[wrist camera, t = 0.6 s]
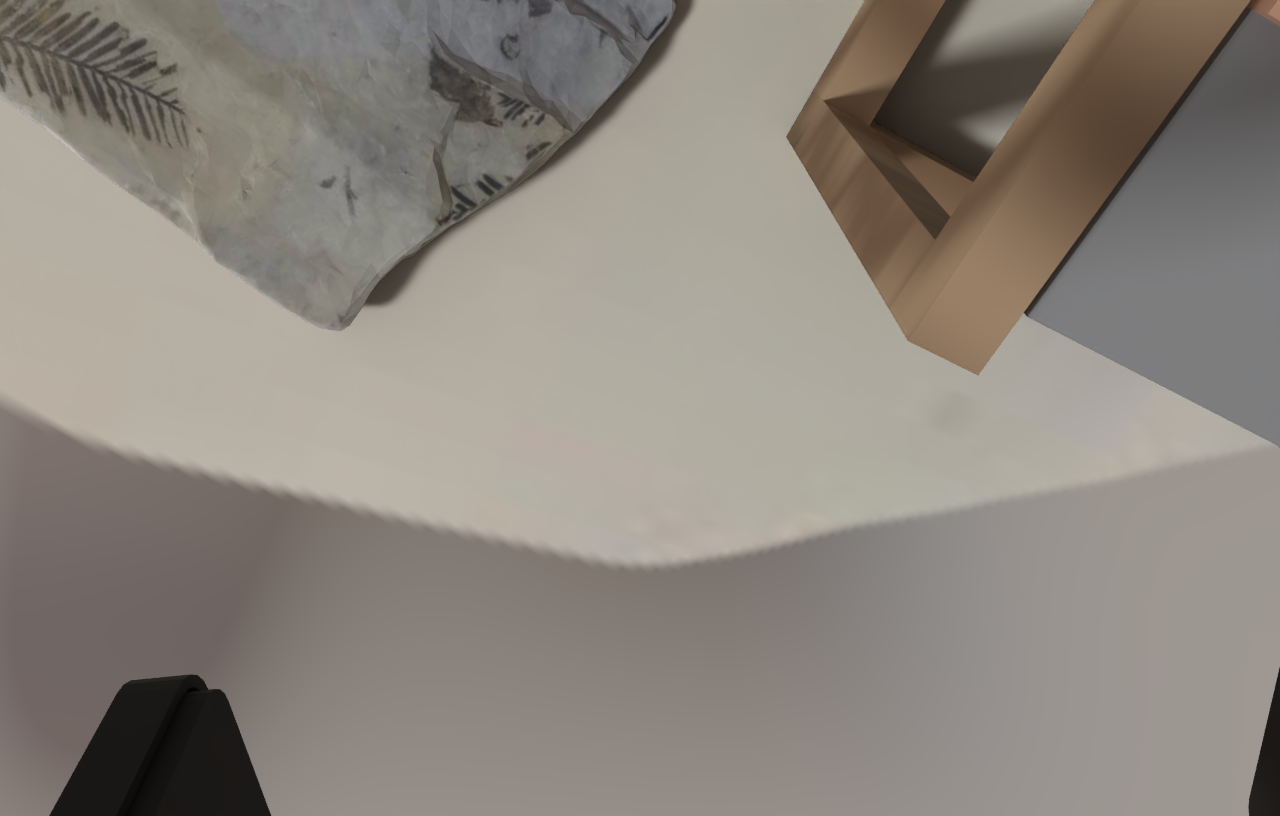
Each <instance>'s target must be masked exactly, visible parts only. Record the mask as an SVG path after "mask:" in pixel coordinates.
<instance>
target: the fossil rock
mask: <svg viewBox="0 0 1280 816" xmlns="http://www.w3.org/2000/svg"><path fill="white" fill-rule="evenodd" d="M675 9H676V4H675V2H674V0H0V98H1V99H2V100H4V101H6V102H7V103H9V104H10V105H12V106H13V107H14V108H16V109H17V110H19V111H20V112H22V113H23V114H25V115H26V116H27V117H29V118H30V119H32V120H33V121H35V122H36V123H38V124H39V125H40V126H42V127H43V128H44V129H45V130H47V131H48V132H49V133H50V134H52V135H53V136H54V137H55V138H57V139H58V140H59V141H60V142H62V143H63V144H64V145H65V146H66V147H68V148H69V149H70V150H71V151H73V152H74V153H75V154H76V155H78V156H79V157H80V158H82V159H83V160H84V161H86V162H87V163H88V164H89V165H91V166H92V167H93V168H95V169H96V170H97V171H99V172H100V173H101V174H103V175H104V176H105V177H107V178H108V179H109V180H111V181H112V182H113V183H115V184H116V185H118V186H119V187H121V188H122V189H123V190H125V191H126V192H128V193H129V194H131V195H132V196H134V197H135V198H137V199H138V200H140V201H141V202H142V203H144V204H145V205H147V206H148V207H150V208H151V209H153V210H154V211H155V212H157V213H158V214H159V215H161V216H162V217H163V218H165V219H166V220H167V221H169V222H170V223H171V224H173V225H174V226H176V227H177V228H179V229H180V230H182V231H183V232H184V233H185V234H186V235H187V236H189V237H190V238H191V239H192V240H193V241H194V242H195V243H197V244H198V245H199V246H200V247H201V248H202V249H203V250H204V251H205V252H207V253H208V254H209V255H210V256H211V257H212V258H213V259H214V260H215V261H216V262H217V263H219V264H220V265H222V266H223V267H225V268H226V269H227V270H229V271H230V272H232V273H233V274H235V275H236V276H237V277H239V278H240V279H242V280H243V281H244V282H246V283H247V284H249V285H250V286H251V287H253V288H254V289H255V290H257V291H258V292H260V293H261V294H263V295H264V296H265V297H267V298H268V299H270V300H271V301H272V302H274V303H275V304H277V305H278V306H280V307H281V308H283V309H284V310H286V311H288V312H290V313H291V314H293V315H295V316H297V317H299V318H300V319H302V320H304V321H306V322H308V323H310V324H312V325H315V326H317V327H320V328H324V329H328V330H337V331H341V330H343V329H345V328H346V327H348V326H349V325H350V324H351V323H352V321H353V320H354V318H355V317H356V316H357V314H358V313H359V311H360V310H361V309H362V307H363V305H364V304H365V302H366V300H367V298H368V297H369V295H370V293H371V292H372V290H373V289H374V287H375V286H376V284H377V283H378V282H379V281H380V280H381V279H382V278H383V277H384V276H385V275H386V274H387V273H388V272H389V271H391V270H392V269H393V268H394V267H395V266H396V265H397V264H398V263H399V262H400V261H401V260H404V259H406V258H409V257H412V256H414V255H415V254H416V253H417V252H418V251H419V250H420V249H421V248H423V247H424V246H425V245H427V244H428V243H429V242H431V241H432V240H433V239H435V238H436V237H437V236H438V235H440V234H441V233H442V232H444V231H445V230H446V229H448V228H449V227H450V226H452V225H453V224H455V223H457V222H459V221H461V220H463V219H465V218H466V217H468V216H469V215H471V214H473V213H474V212H476V211H477V210H479V209H480V208H482V207H484V206H485V205H487V204H489V203H490V202H492V201H494V200H495V199H497V198H499V197H501V196H502V195H504V194H506V193H507V192H509V191H511V190H512V189H514V188H515V187H516V186H518V185H519V184H520V183H522V182H523V181H524V180H525V179H527V178H528V177H529V176H531V175H532V174H533V173H534V172H536V171H537V170H538V169H539V168H540V167H541V166H542V165H544V164H545V163H546V162H547V161H548V160H549V159H550V158H551V156H552V155H553V154H554V153H555V152H556V151H557V150H558V149H559V148H560V147H561V145H562V144H564V143H565V142H566V141H567V140H569V139H570V138H571V137H572V136H573V135H575V134H576V133H577V132H578V131H579V130H580V129H581V128H582V126H583V125H584V124H585V123H586V122H587V121H588V120H589V119H590V118H591V117H592V116H593V114H594V113H595V112H596V111H597V110H598V109H599V108H600V107H601V106H602V105H603V104H604V103H605V102H606V101H607V100H608V99H609V98H610V97H611V95H612V94H613V93H614V92H615V91H616V90H617V89H618V88H619V87H620V86H621V85H622V84H623V83H624V82H625V81H626V80H627V79H628V78H629V77H630V76H631V75H632V74H633V72H634V71H635V70H636V68H637V67H638V65H639V64H640V63H641V61H642V59H643V57H644V56H645V54H646V52H647V50H648V49H649V47H650V45H651V44H652V43H653V42H654V41H655V40H656V39H657V38H658V37H659V36H660V35H661V34H662V33H663V31H664V30H665V29H666V28H667V26H668V25H669V24H670V21H671V19H672V17H673V15H674V13H675Z"/></svg>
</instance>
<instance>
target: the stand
mask: <svg viewBox="0 0 1280 816" xmlns="http://www.w3.org/2000/svg"><path fill="white" fill-rule="evenodd" d="M1250 1H1251V0H1095V1H1094V2H1093V4H1092V5H1091V7H1090V8H1089V10H1088V11H1087V13H1086V14H1085V16H1084V17H1083V19H1082V20H1081V22H1080V23H1079V25H1078V26H1077V28H1076V29H1075V31H1074V32H1073V34H1072V35H1071V37H1070V38H1069V40H1068V41H1067V43H1066V44H1065V46H1064V47H1063V49H1062V50H1061V52H1060V53H1059V55H1058V56H1057V58H1056V59H1055V61H1054V62H1053V64H1052V65H1051V67H1050V68H1049V70H1048V71H1047V73H1046V74H1045V76H1044V77H1043V79H1042V80H1041V82H1040V83H1039V85H1038V86H1037V88H1036V89H1035V91H1034V92H1033V94H1032V95H1031V97H1030V98H1029V100H1028V101H1027V103H1026V104H1025V106H1024V107H1023V109H1022V110H1021V112H1020V113H1019V115H1018V116H1017V118H1016V119H1015V121H1014V122H1013V124H1012V125H1011V127H1010V128H1009V130H1008V131H1007V133H1006V134H1005V136H1004V137H1003V139H1002V140H1001V142H1000V143H999V145H998V146H997V148H996V149H995V151H994V152H993V154H992V155H991V157H990V158H989V160H988V161H987V163H986V164H985V166H984V167H983V169H982V170H981V172H980V173H979V175H978V176H977V178H976V177H974V176H972V175H970V174H968V173H967V172H965V171H963V170H961V169H959V168H957V167H956V166H954V165H952V164H950V163H948V162H946V161H945V160H943V159H941V158H939V157H937V156H935V155H934V154H932V153H930V152H928V151H926V150H924V149H923V148H921V147H919V146H917V145H915V144H913V143H911V142H910V141H908V140H906V139H904V138H902V137H900V136H899V135H897V134H895V133H893V132H891V131H889V130H888V129H886V128H884V127H882V126H880V125H878V124H877V123H875V122H873V119H874V117H875V116H876V114H877V112H878V111H879V109H880V107H881V106H882V104H883V102H884V101H885V99H886V97H887V96H888V94H889V93H890V91H891V89H892V88H893V86H894V84H895V83H896V81H897V79H898V78H899V76H900V74H901V73H902V71H903V70H904V68H905V66H906V65H907V63H908V61H909V60H910V58H911V56H912V55H913V53H914V51H915V50H916V48H917V46H918V45H919V43H920V42H921V40H922V38H923V37H924V35H925V33H926V32H927V30H928V28H929V27H930V25H931V23H932V22H933V20H934V19H935V17H936V15H937V14H938V12H939V10H940V9H941V7H942V5H943V4H944V2H945V0H865V1H864V3H863V5H862V7H861V8H860V10H859V12H858V14H857V15H856V17H855V19H854V20H853V22H852V24H851V26H850V27H849V29H848V31H847V33H846V34H845V36H844V38H843V40H842V41H841V43H840V45H839V46H838V48H837V50H836V52H835V53H834V55H833V57H832V59H831V60H830V62H829V64H828V66H827V67H826V69H825V71H824V72H823V74H822V76H821V78H820V79H819V81H818V83H817V85H816V86H815V88H814V90H813V92H812V93H811V95H810V97H809V99H808V100H807V102H806V104H805V105H804V107H803V109H802V111H801V112H800V114H799V116H798V118H797V119H796V121H795V123H794V125H793V126H792V128H791V130H790V131H789V133H788V135H787V139H788V140H789V142H790V144H791V145H792V147H793V149H794V150H795V152H796V154H797V155H798V157H799V159H800V161H801V162H802V164H803V166H804V167H805V169H806V171H807V172H808V174H809V176H810V177H811V179H812V181H813V182H814V184H815V186H816V187H817V189H818V191H819V192H820V194H821V196H822V197H823V199H824V201H825V202H826V204H827V206H828V208H829V209H830V211H831V213H832V214H833V216H834V218H835V219H836V221H837V223H838V224H839V226H840V228H841V229H842V231H843V233H844V234H845V236H846V238H847V239H848V241H849V243H850V244H851V246H852V248H853V249H854V251H855V253H856V255H857V256H858V258H859V260H860V261H861V263H862V265H863V266H864V268H865V270H866V271H867V273H868V275H869V276H870V278H871V280H872V281H873V283H874V285H875V286H876V288H877V290H878V291H879V293H880V295H881V296H882V298H883V300H884V302H885V303H886V305H887V307H888V308H889V310H890V312H891V313H892V315H893V317H894V318H895V320H896V322H897V323H898V325H899V327H900V328H901V330H902V332H903V333H904V335H905V337H906V338H907V340H908V341H909V342H911V343H913V344H915V345H917V346H920V347H922V348H924V349H926V350H928V351H930V352H932V353H934V354H936V355H938V356H940V357H942V358H944V359H946V360H948V361H950V362H952V363H954V364H956V365H958V366H960V367H962V368H964V369H966V370H968V371H970V372H972V373H974V374H976V375H979V373H980V372H981V371H982V369H983V368H984V366H985V365H986V364H987V362H988V361H989V360H990V358H991V357H992V355H993V354H994V353H995V351H996V350H997V349H998V347H999V346H1000V344H1001V343H1002V342H1003V340H1004V339H1005V338H1006V336H1007V335H1008V333H1009V332H1010V331H1011V329H1012V328H1013V327H1014V325H1015V324H1016V322H1017V321H1018V320H1019V318H1020V317H1021V316H1022V314H1023V313H1024V311H1025V310H1026V309H1027V307H1028V306H1029V305H1030V303H1031V302H1032V300H1033V299H1034V298H1035V296H1036V295H1037V294H1038V292H1039V291H1040V289H1041V288H1042V287H1043V285H1044V284H1045V283H1046V281H1047V280H1048V278H1049V277H1050V276H1051V274H1052V273H1053V272H1054V270H1055V269H1056V267H1057V266H1058V265H1059V263H1060V262H1061V261H1062V259H1063V258H1064V256H1065V255H1066V254H1067V252H1068V251H1069V250H1070V248H1071V247H1072V245H1073V244H1074V243H1075V241H1076V240H1077V239H1078V237H1079V236H1080V234H1081V233H1082V232H1083V230H1084V229H1085V228H1086V226H1087V225H1088V223H1089V222H1090V221H1091V219H1092V218H1093V217H1094V215H1095V214H1096V212H1097V211H1098V210H1099V208H1100V207H1101V206H1102V204H1103V203H1104V201H1105V200H1106V199H1107V197H1108V196H1109V195H1110V193H1111V192H1112V190H1113V189H1114V188H1115V186H1116V185H1117V184H1118V182H1119V181H1120V179H1121V178H1122V177H1123V175H1124V174H1125V173H1126V171H1127V170H1128V168H1129V167H1130V166H1131V164H1132V163H1133V162H1134V160H1135V159H1136V157H1137V156H1138V155H1139V153H1140V152H1141V151H1142V149H1143V148H1144V146H1145V145H1146V144H1147V142H1148V141H1149V140H1150V138H1151V137H1152V135H1153V134H1154V133H1155V131H1156V130H1157V129H1158V127H1159V126H1160V124H1161V123H1162V122H1163V120H1164V119H1165V118H1166V116H1167V115H1168V113H1169V112H1170V111H1171V109H1172V108H1173V107H1174V105H1175V104H1176V102H1177V101H1178V100H1179V98H1180V97H1181V96H1182V94H1183V93H1184V91H1185V90H1186V89H1187V87H1188V86H1189V85H1190V83H1191V82H1192V80H1193V79H1194V78H1195V76H1196V75H1197V74H1198V72H1199V71H1200V69H1201V68H1202V67H1203V65H1204V64H1205V63H1206V61H1207V60H1208V58H1209V57H1210V56H1211V54H1212V53H1213V52H1214V50H1215V49H1216V47H1217V46H1218V45H1219V43H1220V42H1221V41H1222V39H1223V38H1224V36H1225V35H1226V34H1227V32H1228V31H1229V29H1230V28H1231V27H1232V25H1233V24H1234V23H1235V21H1236V20H1237V18H1238V17H1239V16H1240V14H1241V13H1242V12H1243V10H1244V9H1245V7H1246V6H1247V5H1248V3H1249V2H1250ZM1279 447H1280V446H1279Z"/></svg>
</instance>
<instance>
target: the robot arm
mask: <svg viewBox="0 0 1280 816" xmlns="http://www.w3.org/2000/svg"><path fill="white" fill-rule="evenodd" d="M50 816H271V814H270V811H269V809H268V806H267V803H266V801H265V798H264V795H263V793H262V790H261V787H260V784H259V782H258V779H257V776H256V774H255V771H254V768H253V766H252V763H251V761H250V758H249V755H248V752H247V750H246V747H245V744H244V742H243V739H242V736H241V733H240V731H239V728H238V725H237V723H236V720H235V717H234V715H233V712H232V709H231V707H230V704H229V701H228V700H227V698H226V695H225V693H224V692H222V691H221V690H220V689H212V690H208V688H207V686H206V684H205V682H204V681H203V680H202V679H201V678H200V677H199V676H198V675H181V676H171V677H162V678H151V679H141V680H131V681H129V682H128V683H126V684H124V685H123V686H122V688H121V689H120V690H119V691H118V693H117V694H116V696H115V698H114V700H113V702H112V703H111V705H110V707H109V709H108V711H107V712H106V714H105V716H104V718H103V720H102V721H101V723H100V725H99V727H98V729H97V731H96V732H95V734H94V736H93V738H92V740H91V741H90V743H89V745H88V747H87V749H86V750H85V752H84V754H83V756H82V758H81V759H80V761H79V763H78V765H77V767H76V768H75V770H74V772H73V774H72V776H71V778H70V779H69V781H68V783H67V785H66V786H65V788H64V790H63V792H62V794H61V796H60V798H59V799H58V801H57V803H56V805H55V806H54V809H53V810H52V812H51V814H50ZM1249 816H1280V668H1279V673H1278V677H1277V682H1276V686H1275V690H1274V694H1273V699H1272V703H1271V707H1270V711H1269V716H1268V720H1267V724H1266V729H1265V733H1264V738H1263V742H1262V746H1261V750H1260V755H1259V759H1258V764H1257V768H1256V772H1255V776H1254V781H1253V785H1252V789H1251V794H1250V798H1249Z"/></svg>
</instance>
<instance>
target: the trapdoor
mask: <svg viewBox="0 0 1280 816" xmlns="http://www.w3.org/2000/svg"><path fill="white" fill-rule="evenodd" d="M1024 313H1025V315H1026V316H1027V317H1029V318H1031V319H1033V320H1035V321H1037V322H1039V323H1041V324H1042V325H1044V326H1046V327H1048V328H1050V329H1052V330H1054V331H1056V332H1058V333H1060V334H1062V335H1064V336H1066V337H1068V338H1070V339H1072V340H1074V341H1076V342H1077V343H1079V344H1081V345H1083V346H1085V347H1087V348H1089V349H1091V350H1093V351H1095V352H1097V353H1099V354H1101V355H1103V356H1105V357H1107V358H1109V359H1111V360H1113V361H1114V362H1116V363H1118V364H1120V365H1122V366H1124V367H1126V368H1128V369H1130V370H1132V371H1134V372H1136V373H1138V374H1140V375H1142V376H1144V377H1146V378H1148V379H1149V380H1151V381H1153V382H1155V383H1157V384H1159V385H1161V386H1163V387H1165V388H1167V389H1169V390H1171V391H1173V392H1175V393H1177V394H1179V395H1181V396H1183V397H1184V398H1186V399H1188V400H1190V401H1192V402H1194V403H1196V404H1198V405H1200V406H1202V407H1204V408H1206V409H1208V410H1210V411H1212V412H1214V413H1216V414H1218V415H1220V416H1221V417H1223V418H1225V419H1227V420H1229V421H1231V422H1233V423H1235V424H1237V425H1239V426H1241V427H1243V428H1245V429H1247V430H1249V431H1251V432H1253V433H1255V434H1256V435H1258V436H1260V437H1262V438H1264V439H1266V440H1268V441H1270V442H1272V443H1274V444H1276V445H1278V446H1280V0H1251V1H1250V2H1249V3H1248V5H1247V6H1246V7H1245V9H1244V10H1243V12H1242V13H1241V14H1240V16H1239V17H1238V18H1237V20H1236V21H1235V23H1234V24H1233V25H1232V27H1231V28H1230V29H1229V31H1228V32H1227V34H1226V35H1225V36H1224V38H1223V39H1222V41H1221V42H1220V43H1219V45H1218V46H1217V47H1216V49H1215V50H1214V52H1213V53H1212V54H1211V56H1210V57H1209V58H1208V60H1207V61H1206V63H1205V64H1204V65H1203V67H1202V68H1201V69H1200V71H1199V72H1198V74H1197V75H1196V76H1195V78H1194V79H1193V80H1192V82H1191V83H1190V85H1189V86H1188V87H1187V89H1186V90H1185V91H1184V93H1183V94H1182V96H1181V97H1180V98H1179V100H1178V101H1177V102H1176V104H1175V105H1174V107H1173V108H1172V109H1171V111H1170V112H1169V113H1168V115H1167V116H1166V118H1165V119H1164V120H1163V122H1162V123H1161V124H1160V126H1159V127H1158V129H1157V130H1156V131H1155V133H1154V134H1153V135H1152V137H1151V138H1150V140H1149V141H1148V142H1147V144H1146V145H1145V146H1144V148H1143V149H1142V151H1141V152H1140V153H1139V155H1138V156H1137V157H1136V159H1135V160H1134V162H1133V163H1132V164H1131V166H1130V167H1129V168H1128V170H1127V171H1126V173H1125V174H1124V175H1123V177H1122V178H1121V179H1120V181H1119V182H1118V184H1117V185H1116V186H1115V188H1114V189H1113V190H1112V192H1111V193H1110V195H1109V196H1108V197H1107V199H1106V200H1105V201H1104V203H1103V204H1102V206H1101V207H1100V208H1099V210H1098V211H1097V212H1096V214H1095V215H1094V217H1093V218H1092V219H1091V221H1090V222H1089V223H1088V225H1087V226H1086V228H1085V229H1084V230H1083V232H1082V233H1081V234H1080V236H1079V237H1078V239H1077V240H1076V241H1075V243H1074V244H1073V245H1072V247H1071V248H1070V250H1069V251H1068V252H1067V254H1066V255H1065V256H1064V258H1063V259H1062V261H1061V262H1060V263H1059V265H1058V266H1057V267H1056V269H1055V270H1054V272H1053V273H1052V274H1051V276H1050V277H1049V278H1048V280H1047V281H1046V283H1045V284H1044V285H1043V287H1042V288H1041V289H1040V291H1039V292H1038V294H1037V295H1036V296H1035V298H1034V299H1033V300H1032V302H1031V303H1030V305H1029V306H1028V307H1027V309H1026V310H1025V311H1024Z"/></svg>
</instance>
